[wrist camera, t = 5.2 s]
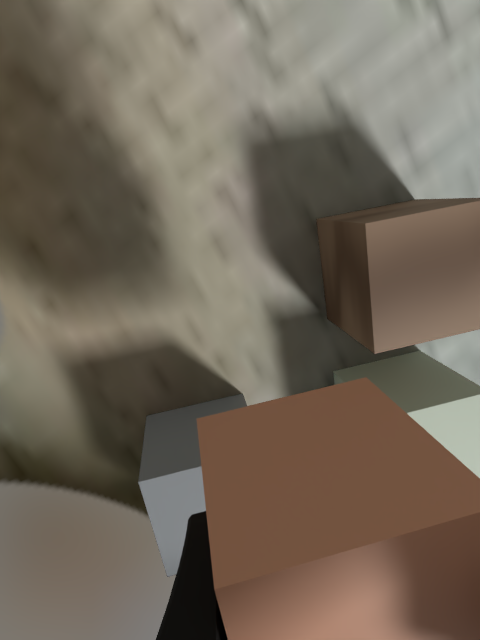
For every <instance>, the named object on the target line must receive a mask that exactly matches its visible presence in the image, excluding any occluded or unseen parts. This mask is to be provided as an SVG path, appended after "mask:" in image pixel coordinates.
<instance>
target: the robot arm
mask: <svg viewBox="0 0 480 640" xmlns="http://www.w3.org/2000/svg"><path fill="white" fill-rule="evenodd" d="M156 640H228V638H227V635H226V631H225V627H224V623H223V620H222V616H221V612H220V609H219V605H218V601H217V597H216V594H215V590H214V581H213V572H212V562H211V553H210V543H209V533H208V524H207V514H206V511H203V512H200V513H196V514H192V515H191V516H190V517H189V519H188V524H187V531H186V536H185V541H184V546H183V551H182V555H181V559H180V563H179V567H178V571H177V574H176V578H175V581H174V585H173V588H172V592H171V596H170V599H169V602H168V605H167V608H166V611H165V615H164V617H163V620H162V623H161V626H160V629H159V632H158V635H157V638H156Z"/></svg>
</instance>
